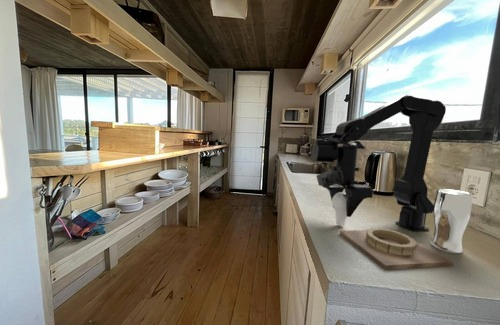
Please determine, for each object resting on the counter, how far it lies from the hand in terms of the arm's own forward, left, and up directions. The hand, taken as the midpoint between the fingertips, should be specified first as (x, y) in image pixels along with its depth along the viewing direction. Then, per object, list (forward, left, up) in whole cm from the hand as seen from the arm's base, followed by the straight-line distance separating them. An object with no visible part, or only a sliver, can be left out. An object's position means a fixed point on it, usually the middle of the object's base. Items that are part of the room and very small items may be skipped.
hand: (341, 212), depth 67 cm
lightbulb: (0, 0, -5) cm, 5 cm away
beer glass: (-21, +15, -5) cm, 26 cm away
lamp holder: (-5, +14, -4) cm, 16 cm away
